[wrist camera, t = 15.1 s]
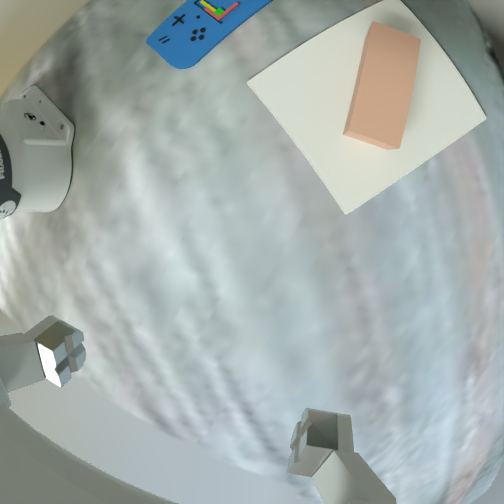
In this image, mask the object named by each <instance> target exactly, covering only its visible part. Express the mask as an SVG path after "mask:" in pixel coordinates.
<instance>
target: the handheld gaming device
mask: <svg viewBox="0 0 504 504" xmlns="http://www.w3.org/2000/svg"><path fill="white" fill-rule="evenodd" d="M271 1H273V0H187V1H186V2H185V3H184V4H183V5H182V6H181V7H179V8H178V9H177V10H176V11H175V12H174V13H173V14H172V15H171V16H170V17H169V18H167V19H166V20H165V21H164V22H163V23H162V24H161V25H160V26H159V27H158V28H157V29H156V30H155V31H154V32H153V33H152V34H151V35H150V36H149V37H148V38H147V40H146V42H147V44H148V45H150V46H151V47H152V48H153V49H154V50H155V51H156V52H157V53H158V54H159V55H161V56H162V57H163V58H164V59H165V60H166V61H167V62H168V63H169V64H170V65H172V66H173V67H175V68H178V69H186V68H189V67H192V66H194V65H195V64H196V63H198V62H199V61H200V60H201V59H202V58H203V57H204V56H205V55H206V54H207V53H209V52H210V51H211V50H212V49H213V48H214V47H215V46H216V45H217V44H219V43H220V42H221V41H222V40H223V39H224V38H225V37H227V36H228V35H229V34H230V33H231V32H233V31H234V30H235V29H236V28H237V27H239V26H240V25H241V24H242V23H244V22H245V21H246V20H247V19H249V18H250V17H251V16H253V15H254V14H255V13H257V12H258V11H259V10H261V9H262V8H263V7H265V6H266V5H267V4H269V3H270V2H271Z"/></svg>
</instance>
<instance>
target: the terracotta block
mask: <svg viewBox="0 0 504 504" xmlns="http://www.w3.org/2000/svg"><path fill="white" fill-rule="evenodd" d="M420 42H421V39H419V38H417V37H414V36H412V35H409V34H407V33H404V32H402V31H399V30H397V29H394V28H391V27H388V26H386V25H383V24H380V23H377V22H374V21H372V23H371V25H370V28H369V30H368V32H367V35H366V37H365V40H364V45H363V50H362V55H361V60H360V64H359V69H358V73H357V78H356V82H355V86H354V91H353V95H352V99H351V103H350V108H349V112H348V116H347V120H346V124H345V128H344V132H343V135H345V136H348V137H351V138H354V139H357V140H360V141H363V142H366V143H369V144H372V145H375V146H377V147H380V148H383V149H386V150H391V149H400V145H401V141H402V137H403V133H404V129H405V124H406V120H407V115H408V111H409V106H410V101H411V96H412V91H413V86H414V80H415V75H416V69H417V62H418V56H419V49H420Z"/></svg>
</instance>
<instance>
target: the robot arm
mask: <svg viewBox="0 0 504 504" xmlns="http://www.w3.org/2000/svg"><path fill="white" fill-rule="evenodd" d="M63 126H64V127H63ZM73 136H74V126H73V124H72V123H71V122H70V121H69V120H68V119H67V118H66V117H65V116H64V114H63V113H62V112H61V111H60V110H59V109H58V108H57V107H56V106H55V105H54V104H53V103H52V102H51V101H50V100H49V98H48V97H47V96H46V95H45V94H44V93H43V92H42V91H41V90H40V89H39V88H38V87H37V86H31V87H29V88H28V89H27V90H26V91H24V93H23V94H22V95H21V96H20V97H19V99H14V100H10V101H8V102H6V103H5V104H4V105H3V106H2V107H1V108H0V219H2V218H5V217H7V216H9V215H11V214H13V213H19V212H30V211H37V212H51V211H53V210H55V209H56V208H57V207H58V206H59V205H60V204H61V203H62V201H63V200H64V198H65V196H66V194H67V191H68V188H69V184H70V179H71V169H72V161H71V145H72V141H73ZM83 341H84V336H83V332H81V331H80V330H78V329H76V328H75V327H73V326H71V325H69V324H67V323H66V322H64V321H62V320H60V319H58V318H56V317H55V316H48V317H47V318H45V319H44V320H43V321H41V322H40V323H38V324H37V325H36V326H34V327H33V328H32V329H30V330H29V331H28V332H26V333H25V334H23V333H16V334H10V335H4V336H0V504H178V503H175V502H173V501H170V500H167V499H165V498H162V497H159V496H156V495H154V494H152V493H149V492H146V491H144V490H142V489H140V488H137V487H135V486H133V485H131V484H128V483H126V482H124V481H122V480H120V479H118V478H116V477H114V476H112V475H110V474H107V473H106V472H104V471H102V470H100V469H98V468H96V467H95V466H93V465H91V464H89V463H87V462H86V461H84V460H82V459H80V458H79V457H77V456H75V455H74V454H72V453H70V452H69V451H67V450H66V449H64V448H62V447H61V446H59V445H58V444H56V443H55V442H53V441H52V440H50V439H49V438H47V437H46V436H45V435H43V434H42V433H40V432H39V431H38V430H36V429H35V428H33V427H32V426H31V425H30V424H28V423H27V422H26V421H24V420H23V419H22V418H20V417H19V416H18V415H17V414H16V413H14V412H13V411H12V410H11V409H9V407H10V406H11V400H10V398H9V396H8V394H7V393H8V392H11V391H14V390H16V389H19V388H22V387H25V386H28V385H31V384H33V383H36V382H39V381H42V380H44V379H45V378H46V379H48V380H49V381H51V382H53V383H54V384H56V385H58V386H59V387H63V386H64V385H65V384H66V383H67V382H68V381H69V380H70V379H71V374H72V372H75V371H78V370H79V369H80V368H81V367H82V366H83V363H84V361H85V357H86V351H85V348H84V346H83V344H82V342H83ZM290 448H291V449H292V451H293V452H292V453H291V455H290V456H289V461H288V470H287V473H291V474H297V475H302V476H309V477H311V479H312V481H313V483H314V485H315V487H316V488H317V490H318V492H319V494H320V496H321V498H322V500H323V501H324V503H325V504H396V498H395V497H394V496H393V494H392V493H391V492H390V491H389V490H388V489H387V487H386V486H385V485H384V484H383V483H382V481H381V480H380V479H379V478H378V477H377V475H376V474H375V473H374V472H373V471H372V469H371V468H370V467H369V466H368V464H367V463H366V462H365V461H364V460H363V458H362V457H361V456H360V455H359V453H355V452H354V445H353V434H352V424H351V417H350V415H346V414H339V413H333V412H327V411H321V410H316V409H310V408H306V409H305V410H304V412H303V414H302V419H301V421H300V422H298V423H297V425H296V427H295V429H294V431H293V434H292V438H291V444H290Z"/></svg>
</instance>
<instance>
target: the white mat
mask: <svg viewBox="0 0 504 504" xmlns="http://www.w3.org/2000/svg"><path fill="white" fill-rule="evenodd" d="M372 21H374V22H377V23H380V24H383V25H386V26H388V27H391V28H394V29H397V30H399V31H402V32H404V33H407V34H409V35H412V36H414V37H417V38H419V39H421V42H420V49H419V56H418V62H417V69H416V75H415V80H414V86H413V91H412V96H411V101H410V106H409V111H408V115H407V120H406V124H405V129H404V133H403V137H402V141H401V145H400V149H391V150H386V149H383V148H380V147H377V146H375V145H372V144H369V143H366V142H363V141H360V140H357V139H354V138H351V137H348V136H345V135H343V132H344V128H345V124H346V120H347V116H348V112H349V108H350V103H351V99H352V95H353V91H354V86H355V82H356V78H357V73H358V69H359V64H360V60H361V55H362V50H363V45H364V40H365V37H366V35H367V32H368V30H369V28H370V25H371V23H372ZM246 83H247V84H248V85H249V86H250V88H251V89H252V90H253V91H254V92H255V93H256V95H257V96H258V97H259V98H260V99H261V101H262V102H263V103H264V104H265V106H266V107H267V108H268V109H269V110H270V112H271V113H272V114H273V115H274V117H275V118H276V119H277V120H278V122H279V123H280V124H281V126H282V127H283V128H284V129H285V131H286V132H287V133H288V135H289V136H290V137H291V138H292V140H293V141H294V142H295V144H296V145H297V146H298V148H299V149H300V150H301V152H302V153H303V155H304V156H305V157H306V159H307V160H308V161H309V163H310V164H311V166H312V167H313V168H314V170H315V171H316V172H317V174H318V175H319V177H320V178H321V180H322V181H323V182H324V184H325V185H326V187H327V188H328V190H329V191H330V193H331V194H332V196H333V197H334V199H335V200H336V201H337V203H338V204H339V206H340V208H341V209H342V211H343V212H344V214H345V215H347V214H348V213H350V212H352V211H353V210H355V209H356V208H358V207H359V206H361V205H362V204H364V203H365V202H367V201H368V200H369V199H371V198H372V197H374V196H375V195H377V194H378V193H380V192H381V191H383V190H384V189H386V188H387V187H389V186H390V185H392V184H393V183H395V182H396V181H398V180H399V179H401V178H402V177H404V176H405V175H406V174H408V173H409V172H411V171H412V170H414V169H415V168H417V167H418V166H420V165H421V164H422V163H424V162H425V161H427V160H428V159H430V158H431V157H433V156H434V155H436V154H437V153H438V152H440V151H441V150H443V149H444V148H446V147H447V146H448V145H450V144H451V143H453V142H454V141H456V140H457V139H458V138H460V137H461V136H463V135H464V134H466V133H467V132H468V131H470V130H471V129H473V128H474V127H475V126H477V125H478V124H480V123H481V122H482V121H484V120H485V119H487V118H486V116H485V114H484V112H483V111H482V109H481V107H480V105H479V104H478V102H477V100H476V99H475V97H474V95H473V94H472V92H471V90H470V89H469V87H468V85H467V84H466V82H465V81H464V79H463V78H462V76H461V75H460V73H459V72H458V70H457V69H456V67H455V66H454V64H453V63H452V62H451V60H450V59H449V57H448V56H447V55H446V53H445V52H444V51H443V49H442V48H441V47H440V45H439V44H438V43H437V42H436V40H435V39H434V38H433V37H432V35H431V34H430V33H429V32H428V30H427V29H426V28H425V27H424V26H423V25H422V23H421V22H420V21H419V20H418V19H417V18H416V17H415V15H414V14H413V13H412V12H411V11H410V10H409V9H408V8H407V7H406V6H405V5H404V4H403V3H402V2H401V1H400V0H383V1H381V2H379V3H377V4H374V5H372V6H370V7H368V8H366V9H364V10H362V11H360V12H358V13H356V14H354V15H353V16H351V17H349V18H347V19H345V20H343V21H341V22H339V23H338V24H336V25H334V26H332V27H331V28H329V29H327V30H325V31H324V32H322V33H320V34H318V35H317V36H315V37H313V38H312V39H310V40H309V41H307V42H305V43H304V44H302V45H300V46H299V47H297V48H296V49H294V50H293V51H291V52H290V53H288V54H286V55H285V56H283V57H282V58H280V59H279V60H277V61H276V62H275V63H273V64H272V65H270V66H269V67H267V68H266V69H264V70H263V71H262V72H260V73H259V74H257V75H256V76H255V77H253V78H252V79H251V80H249V81H248V82H246Z"/></svg>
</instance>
